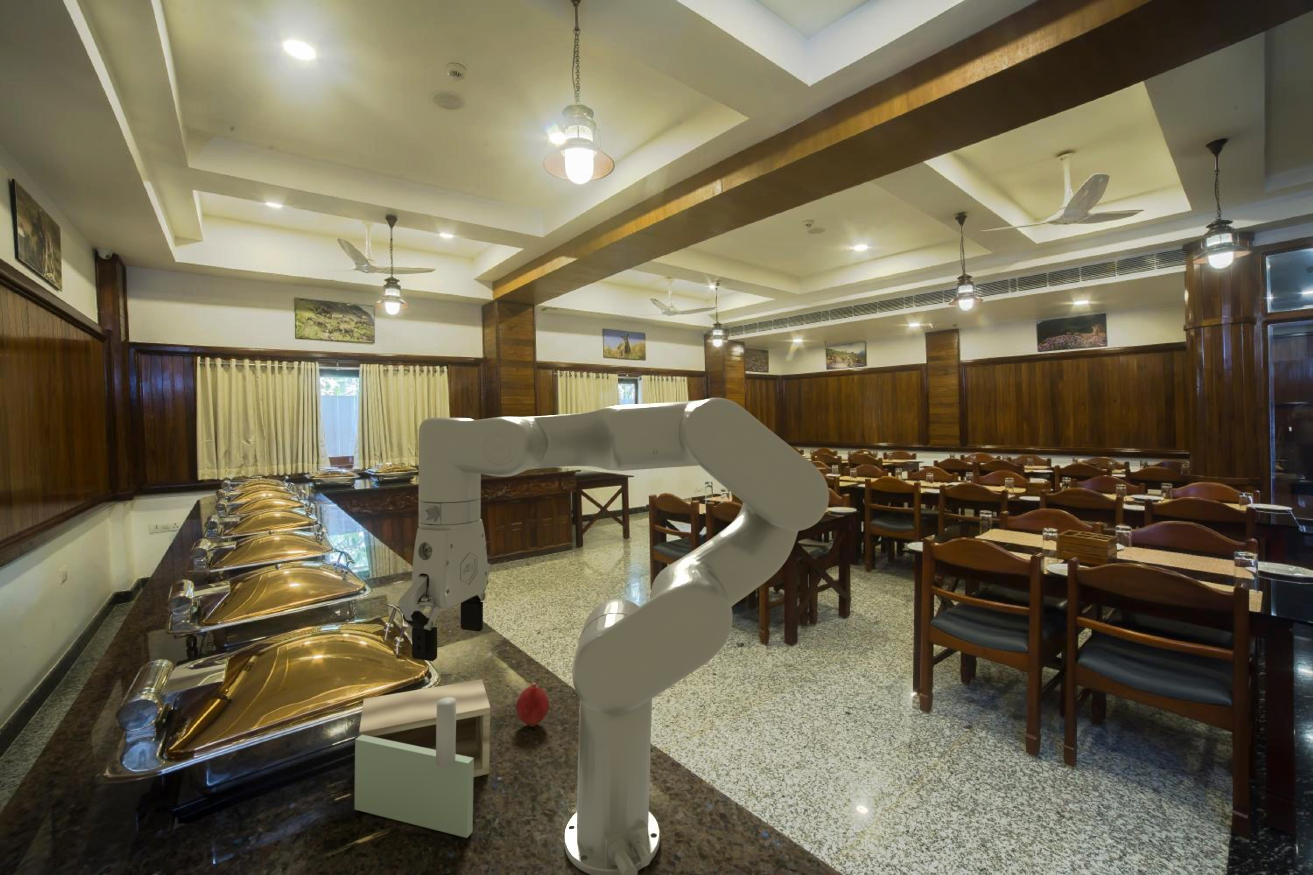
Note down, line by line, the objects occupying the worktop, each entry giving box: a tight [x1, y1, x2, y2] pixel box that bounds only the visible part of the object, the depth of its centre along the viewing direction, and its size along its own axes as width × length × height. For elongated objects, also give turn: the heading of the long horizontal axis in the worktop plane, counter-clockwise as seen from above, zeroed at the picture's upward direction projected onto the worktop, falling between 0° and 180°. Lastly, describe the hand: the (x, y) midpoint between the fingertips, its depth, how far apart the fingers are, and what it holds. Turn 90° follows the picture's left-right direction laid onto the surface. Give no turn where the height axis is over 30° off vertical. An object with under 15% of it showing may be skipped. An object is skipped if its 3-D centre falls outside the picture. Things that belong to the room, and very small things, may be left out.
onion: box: [515, 682, 550, 728], centre depth 99 cm, size 6×6×8 cm
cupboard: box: [358, 678, 491, 778], centre depth 86 cm, size 10×18×10 cm, turn 115°
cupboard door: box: [354, 697, 474, 839], centre depth 74 cm, size 3×18×18 cm, turn 75°
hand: (449, 643), depth 71 cm, fingers open, 9 cm apart
